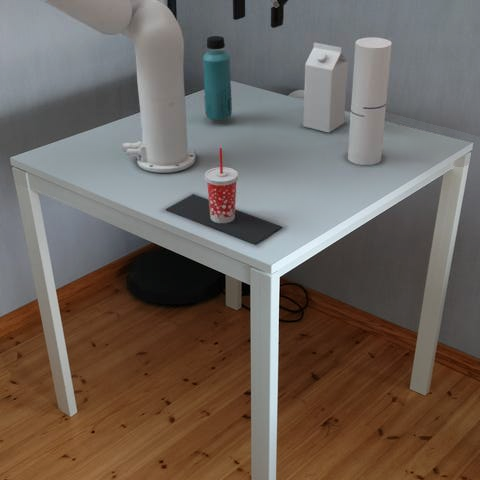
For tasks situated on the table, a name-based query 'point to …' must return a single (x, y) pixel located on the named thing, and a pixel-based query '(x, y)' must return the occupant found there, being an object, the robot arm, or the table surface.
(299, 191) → the table surface
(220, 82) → the beverage bottle
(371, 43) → the cylindrical container
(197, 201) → the mat
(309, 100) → the milk carton
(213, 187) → the beverage cup
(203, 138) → the table surface
